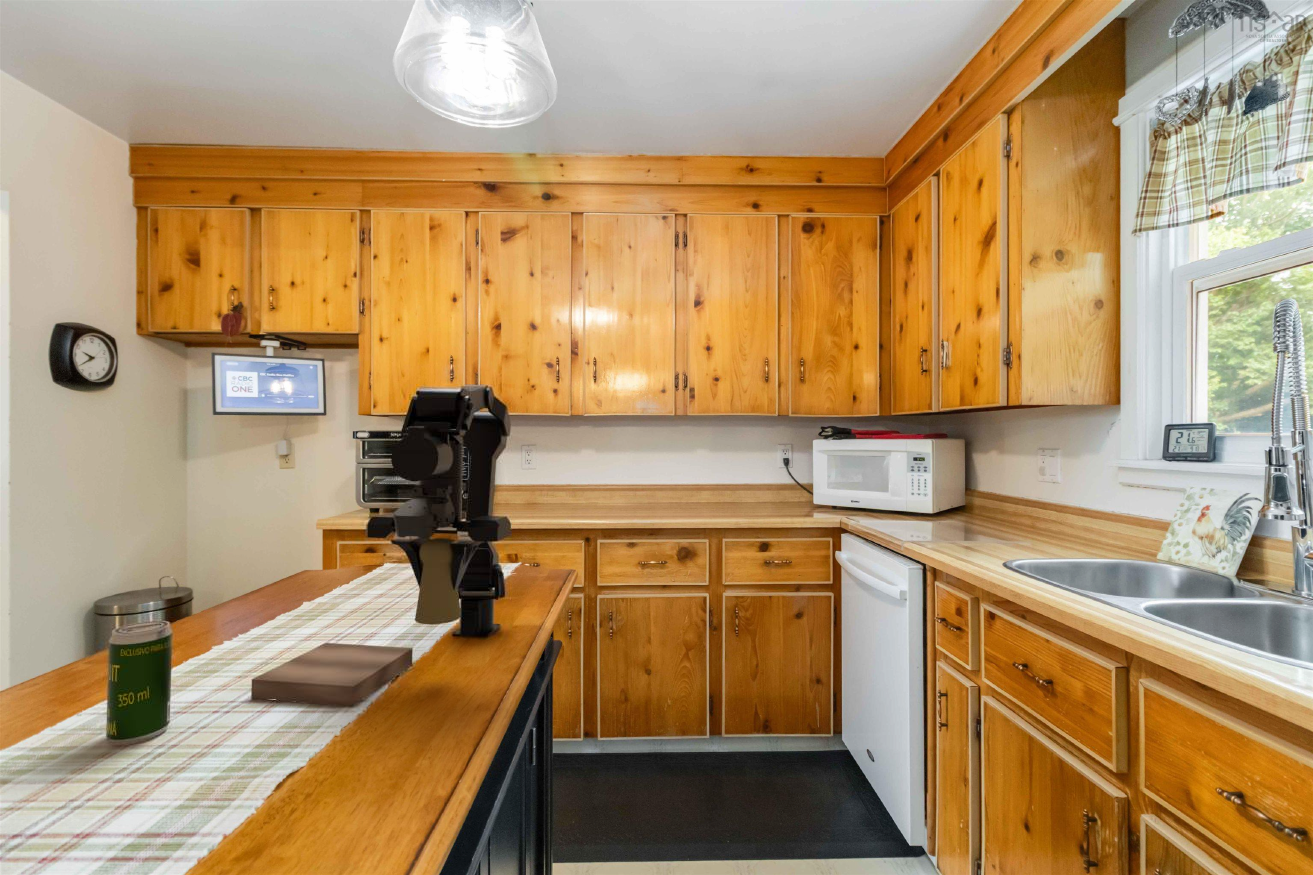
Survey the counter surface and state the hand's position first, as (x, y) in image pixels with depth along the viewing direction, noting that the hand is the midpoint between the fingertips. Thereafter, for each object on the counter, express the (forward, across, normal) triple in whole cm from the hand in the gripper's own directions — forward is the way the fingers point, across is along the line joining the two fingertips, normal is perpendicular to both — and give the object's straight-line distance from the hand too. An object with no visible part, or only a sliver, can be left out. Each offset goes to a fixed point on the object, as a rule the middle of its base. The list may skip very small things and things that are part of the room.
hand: (438, 588), depth 81 cm
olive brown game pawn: (+4, 0, 0) cm, 4 cm away
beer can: (+13, -26, -19) cm, 34 cm away
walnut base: (+13, -14, -2) cm, 19 cm away
